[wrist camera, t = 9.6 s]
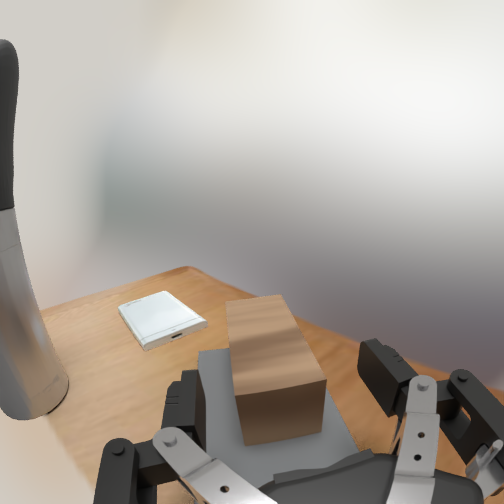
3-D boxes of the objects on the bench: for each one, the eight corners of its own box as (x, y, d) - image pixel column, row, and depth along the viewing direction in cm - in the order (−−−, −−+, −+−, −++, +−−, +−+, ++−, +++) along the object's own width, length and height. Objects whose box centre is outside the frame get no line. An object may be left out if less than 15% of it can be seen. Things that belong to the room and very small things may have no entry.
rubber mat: (376, 497, 10) (380, 492, 10) (198, 531, 9) (194, 528, 9) (300, 343, 27) (300, 337, 27) (200, 357, 26) (198, 351, 26)
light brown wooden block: (326, 379, 14) (280, 294, 25) (234, 395, 13) (225, 301, 25) (321, 431, 15) (283, 340, 27) (244, 446, 15) (232, 347, 26)
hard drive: (117, 305, 37) (142, 343, 27) (166, 289, 41) (206, 318, 32) (120, 316, 37) (146, 355, 28) (168, 299, 42) (209, 330, 32)
